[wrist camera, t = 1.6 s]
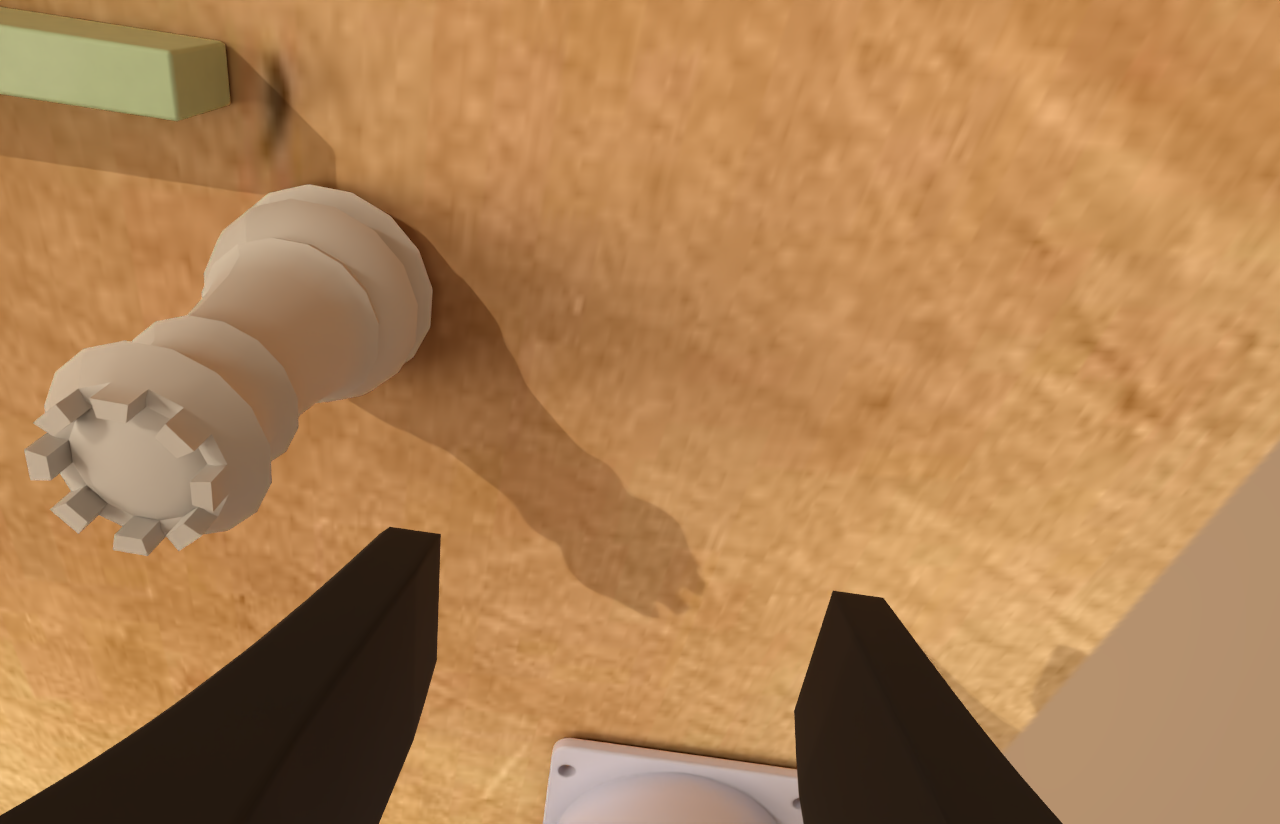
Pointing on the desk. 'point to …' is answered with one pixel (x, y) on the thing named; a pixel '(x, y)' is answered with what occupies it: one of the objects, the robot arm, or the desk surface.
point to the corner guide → (110, 66)
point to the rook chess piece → (234, 370)
